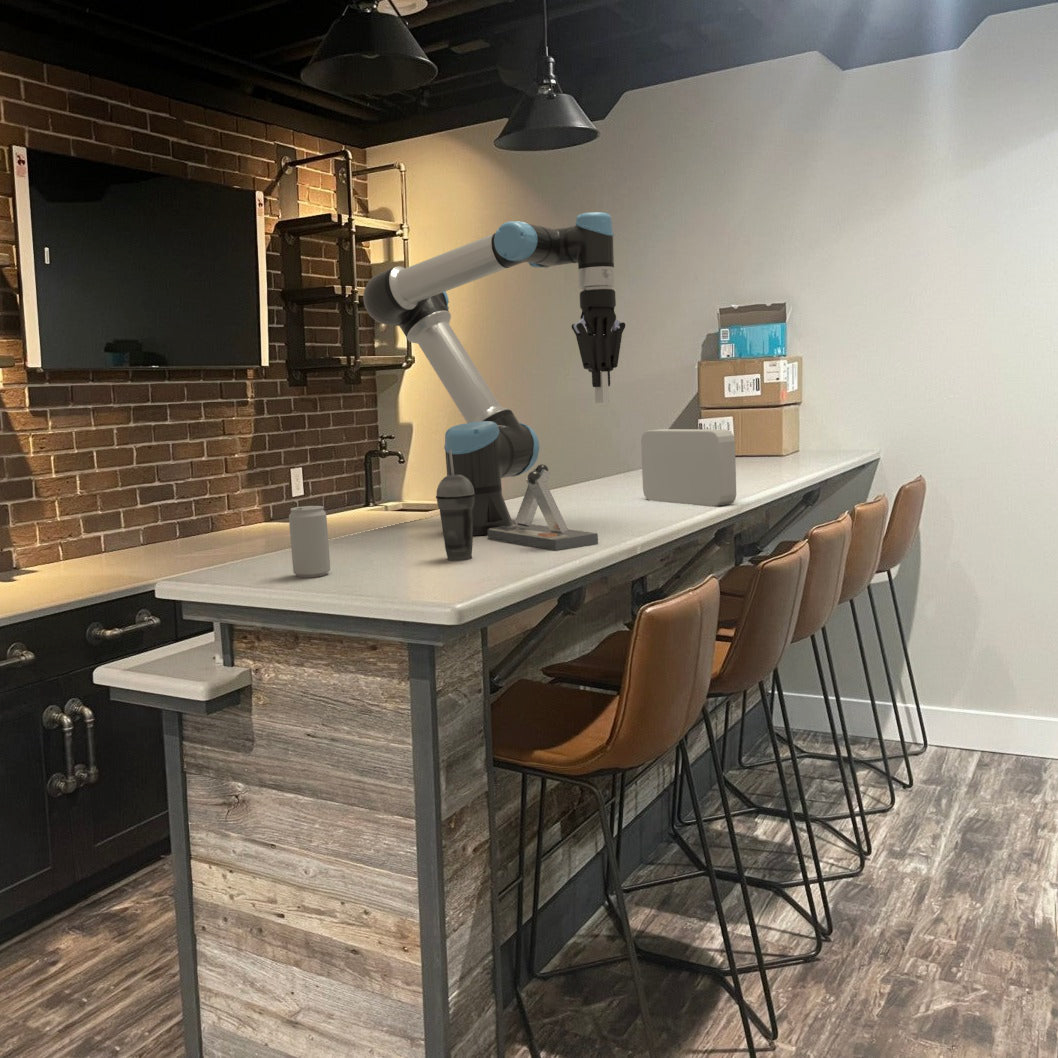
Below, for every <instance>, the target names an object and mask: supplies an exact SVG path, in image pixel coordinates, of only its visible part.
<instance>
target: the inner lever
mask: <svg viewBox="0 0 1058 1058" xmlns="http://www.w3.org/2000/svg"><path fill="white" fill-rule="evenodd" d="M533 471H537V472H539V473H540V474H541V476H543V477H544V479H545V481H546V483H547V482H548V480H549V477H550V473H551V472H549V467H548V466H547V464H543V463H542V464H539V465H537V467H536V468H533ZM538 507H539V505H538V503H537V501H536V499H535V497H534V495H533V493H532V491H531V489H530V487H529V485H527V488H526V491H525V492H524V495H523V499H522V501H521V503H520V506H519V509H518V512H517V515H516V518H515V521H514V524H516V525H521V526H528V527H530V526H531V524H533V520H534V519H535V516H536V515H535V514H536V512H537V510H538Z"/></svg>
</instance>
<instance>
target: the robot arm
mask: <svg viewBox="0 0 1058 1058" xmlns="http://www.w3.org/2000/svg"><path fill="white" fill-rule="evenodd" d="M575 218H576V219H575V225H572V226H569V227H559V228H550V227H544V226H540V225H536V224H530V223H527V222H525V221H517V220H516V221H514V220H513V221H511V220H510V221H506V222H505V223H503V224H501V225H500V226H499V227H498V229H497V230H496V232H494V233H492V234H490V235H487V236H484V237H482V238H479V239H477V240H475V241H472V242H469V243H466V244H463V245H461V246H460V247H459V246H458V247H456V248H454V249H451V250H449V251H446V252H443V253H441V254H438V255H436V256H433V257H431V258H428V259H426V260H423V261H421V262H417V263H416V264H413V265H410V266H408V267H404V266H401V265H400V266H394V267H392V268H390V269H386V270H385V271H382V272H379V273H377V274H375V275H374V276H372V277H371V278H370V279H369V281H368V282H367V284H366V286H365V288H364V291H363V298H362V299H363V306H364V308H365V310H366V312H367V313H368V315H369V317H371V318H372V319H373V320H375V321H376V322H377V323H379V324H383V325H385V326H395V327H396V326H397V327H399V328H400V329H401V331H402V333H403V334H404V336H405V337H406V339H407V341H408V342H410V343H414V344H417V345H418V346H419V348H420V349H421V351H422V353H423V354H424V356H425V357H426V359H427V361H428V362H429V364H430V366H431V367H432V368H433V370H434V372H435V373H436V375H437V377H438V378H439V380H440V381H441V383H442V385H443V387H444V388H445V390H446V391H447V393H448V395H449V396H450V398H451V399H452V401H453V402H454V405H455V406H456V408H457V409H458V412H460V414H461V415H462V417H463V418H464V420H465V422H466V423H462V424H457V425H454V426H451V427H449V428H448V429H447V430H446V431H445V434H444V448H443V449H444V452H445V463H446V464H445V465H446V466H445V467H446V476H448V475H452V474H451V465H450V456H449V450H452V459H453V468H454V474H460V475H463V476H465V477H466V478H467V479H468V480H469V481H470V482H471V483H472V485H473V488H474V493H475V502H474V507H473V536H485V535H487V536H488V532H487V529H489V528H495V527H502V526H513V524H512V516H511V514H510V512H509V509H508V507H507V504H506V501H505V499H504V496H503V490H502V478H508V477H511V478H512V477H513V478H514V477H517V476H520V475H522V474H525V473H527V472H528V471H530V470H531V469H532V468H533V467H534V466H535V464H536V463H537V460H538V458H539V452H540V441H539V438H538V436H537V434H536V432H535V430H534V429H533V428H532V427H531V426H529V425H528V424H524V423H522V422H519V420H518V419H517V417H516V416H515V414H514V412H513V411H512V409H511V408H508V407H503V406H502V405H500V403H499V401H498V400H497V398H496V396H495V395H494V393H493V391H492V390H491V388H490V387H489V385H488V384H487V382H486V380H485V378H483V375H482V374H481V373H480V371H479V370H478V367H477V366H476V365H475V363H474V361H473V359H472V358H471V357H470V355H469V354H468V351H466V349H465V347H464V345H463V343H462V342H461V341H460V339H459V338H458V336H457V335H456V333H455V332H454V330H453V328H452V326H451V324H450V322H451V318H452V315H451V313H450V311H449V307H450V306H449V303H450V301H449V296H448V293H447V291H450V290H453V289H455V288H458V287H461V286H464V285H466V284H469V283H472V282H473V281H476V280H479V279H482V278H484V277H488V276H490V275H492V274H495V273H498V272H501V271H503V270H506V269H510V268H511V267H512V268H513V267H515V266H517V265H521V264H524V263H528V264H529V266H530V267H531V268H544V269H547V268H550V267H555V266H562V265H569V264H577V266H578V267H577V268H578V288H579V289H580V290H581V291H580V293H579V308H580V309H581V313H580V316H579V317H580V320H578V321H577V322H576V323H572V324H571V330H572V331H573V332H574V334H575V338H576V341H577V346H578V350H579V355H580V358H581V362H582V366H583V369H585V370H587V371H588V373H591V383H592V388H594V397H595V398H594V399H595V404H598V403H599V404H604V403H610V399H609V398H610V397H609V396H610V395H609V387H611V372H612V371H614V369H615V368H617V367H618V364H619V357H620V350H621V344H622V337H623V332H624V330H625V328H626V323H625V322H620V321H619V320H618V319H617V314H616V313H615V307H616V305H617V301H616V299H617V298H616V290H615V289H613V288H614V287H615V286H616V280H615V278H616V277H615V263H614V261H615V260H614V257H615V256H614V236H615V235H614V231H613V222H612V216H611V215H610V214H609V213H606V212H603V211H602V212H601V211H600V212H599V211H596V212H595V211H594V212H593V211H592V212H591V211H590V212H583V213H580V214H578V215H577V216H576V217H575Z"/></svg>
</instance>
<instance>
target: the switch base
mask: <svg viewBox="0 0 1058 1058" xmlns="http://www.w3.org/2000/svg"><path fill="white" fill-rule="evenodd" d="M487 532H488V534H487V540H492V541H499V542H505V543H509V544H515V545H522V546H527V547H533V548H538V549H546V550H551V551H555V552H556V551H562V550H563V551H564V550H568V549H574V548H579V547H580V548H581V547H586V546H592V545H598V544H599V534H598V533H597V532H591V531H584V530H576V529H568V530H567V531H565V532H564V533H563V534H559V533H552V532H551V531H550V528H549V526H548V525H540V524H534V523H531V526H530V527H528V526H521V525H518V524H516V525H515V524H514V525H512V526H502V527H495V528H489V529H487Z"/></svg>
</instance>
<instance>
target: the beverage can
mask: <svg viewBox="0 0 1058 1058" xmlns="http://www.w3.org/2000/svg"><path fill="white" fill-rule="evenodd" d="M327 518H328V517H327V512H326V511H325V510H324V506H323V505H306V506H296V507H291V508H290V513H289V514H288V521H289V522H288V523H289V524H288V525H289V535H290V548H291V559H292V560H291V563H292V572H293V574H295V575H296V577H297V578H305V579H307V578H310V579H311V578H320V577H323V576H327V574H328V572H330V571H331V559H330V545H329V533H328V532H329V531H328V519H327Z"/></svg>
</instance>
